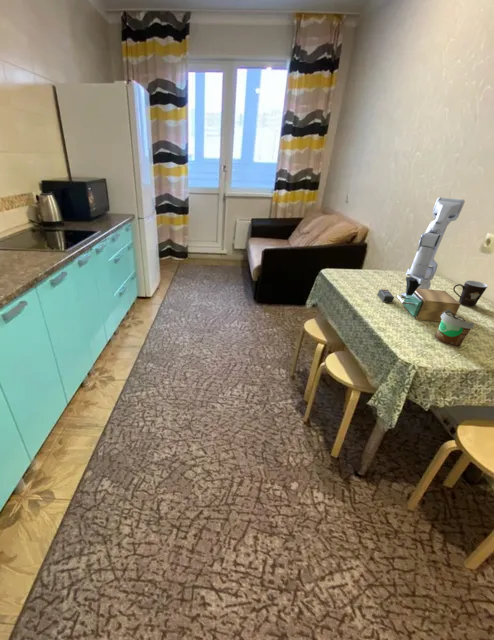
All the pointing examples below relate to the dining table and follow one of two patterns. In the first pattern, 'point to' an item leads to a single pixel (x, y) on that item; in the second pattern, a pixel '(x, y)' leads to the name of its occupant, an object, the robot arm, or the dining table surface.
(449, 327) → the food container
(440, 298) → the cabinet
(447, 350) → the dining table surface
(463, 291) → the coffee mug
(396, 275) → the dining table surface
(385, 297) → the remote
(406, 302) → the drawer
